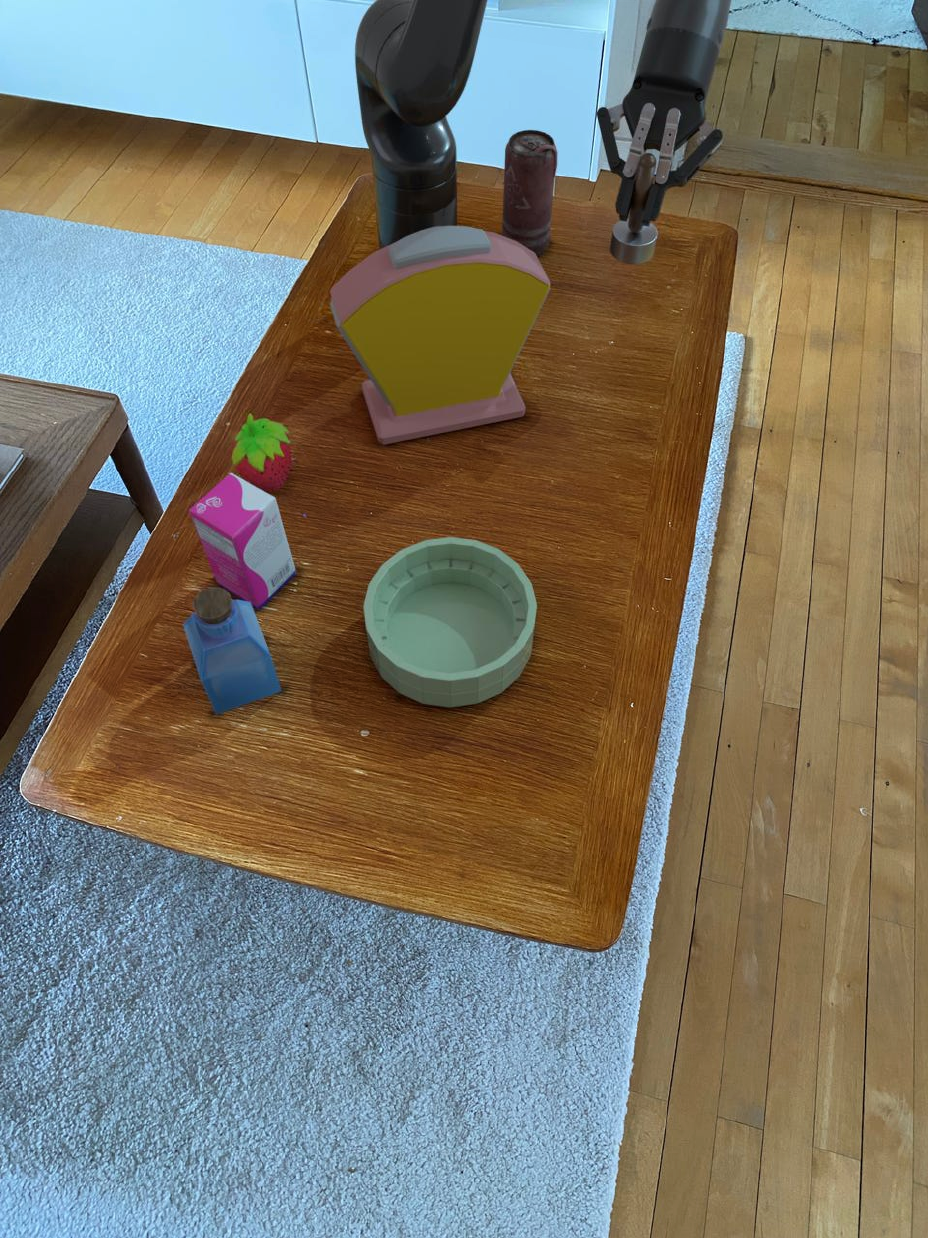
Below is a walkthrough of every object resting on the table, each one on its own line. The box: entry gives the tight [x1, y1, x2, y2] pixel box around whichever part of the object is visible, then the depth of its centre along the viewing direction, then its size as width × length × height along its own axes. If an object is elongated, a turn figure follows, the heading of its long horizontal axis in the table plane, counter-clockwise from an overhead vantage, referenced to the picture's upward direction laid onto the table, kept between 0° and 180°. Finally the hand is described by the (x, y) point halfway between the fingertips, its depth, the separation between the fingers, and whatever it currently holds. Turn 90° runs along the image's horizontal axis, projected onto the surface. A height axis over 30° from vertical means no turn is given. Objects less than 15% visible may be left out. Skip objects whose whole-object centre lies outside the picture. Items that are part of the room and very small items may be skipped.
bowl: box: [362, 536, 538, 708], centre depth 90 cm, size 16×16×6 cm
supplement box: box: [188, 472, 297, 611], centre depth 92 cm, size 6×6×12 cm
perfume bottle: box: [182, 586, 282, 716], centre depth 85 cm, size 6×6×12 cm
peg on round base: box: [609, 152, 659, 266], centre depth 101 cm, size 5×5×11 cm
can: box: [501, 129, 559, 257], centre depth 120 cm, size 6×6×14 cm
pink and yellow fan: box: [329, 225, 551, 445], centre depth 101 cm, size 22×9×22 cm, turn 106°
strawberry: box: [230, 413, 292, 492], centre depth 99 cm, size 6×7×10 cm
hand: (633, 221), depth 100 cm, fingers closed on peg on round base
